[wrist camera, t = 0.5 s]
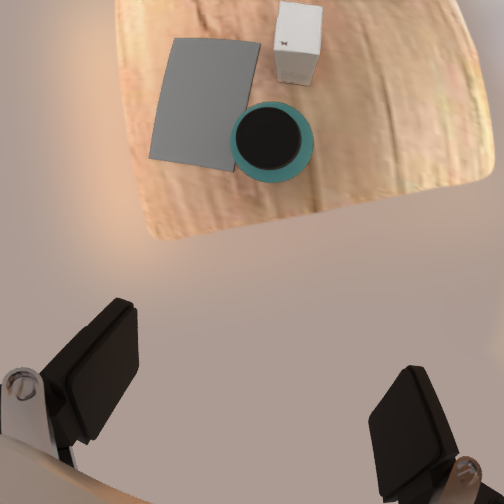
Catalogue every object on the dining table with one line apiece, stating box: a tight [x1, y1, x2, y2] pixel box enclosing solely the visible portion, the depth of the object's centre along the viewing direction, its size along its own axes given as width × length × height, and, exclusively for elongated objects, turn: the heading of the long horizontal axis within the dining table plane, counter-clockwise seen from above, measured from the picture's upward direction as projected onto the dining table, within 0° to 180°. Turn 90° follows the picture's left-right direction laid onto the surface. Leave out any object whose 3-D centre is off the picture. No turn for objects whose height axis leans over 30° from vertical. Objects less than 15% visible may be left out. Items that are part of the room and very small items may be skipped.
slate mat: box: [149, 38, 261, 172], centre depth 33 cm, size 18×12×1 cm, turn 169°
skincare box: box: [273, 1, 323, 86], centre depth 25 cm, size 6×4×12 cm
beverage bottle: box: [230, 102, 314, 183], centre depth 25 cm, size 6×7×20 cm
